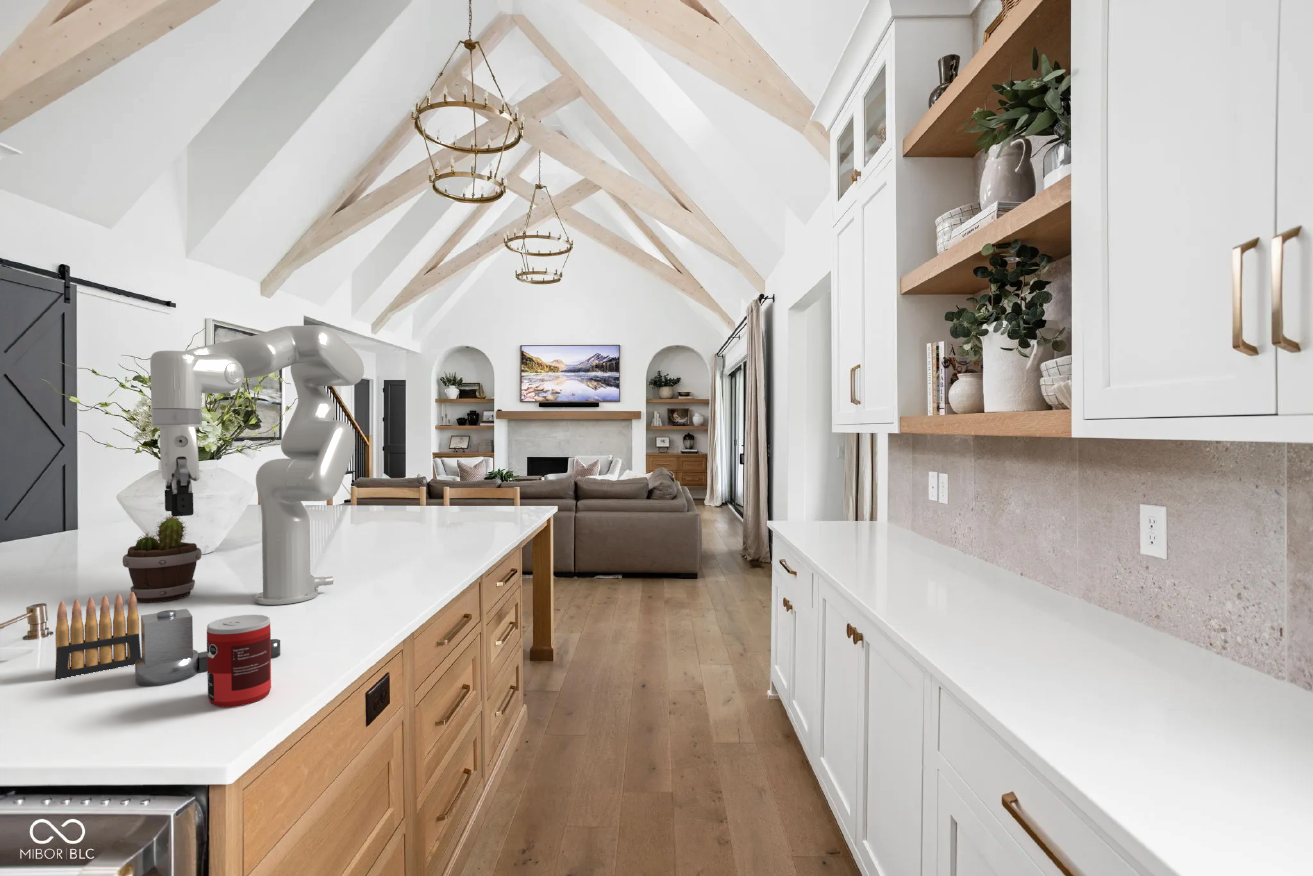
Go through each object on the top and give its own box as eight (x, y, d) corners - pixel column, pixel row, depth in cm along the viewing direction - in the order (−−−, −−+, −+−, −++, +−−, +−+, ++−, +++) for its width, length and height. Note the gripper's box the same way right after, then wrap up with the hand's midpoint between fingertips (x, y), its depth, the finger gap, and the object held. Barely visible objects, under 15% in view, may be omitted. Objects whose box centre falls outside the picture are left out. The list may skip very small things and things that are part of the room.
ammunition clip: (55, 680, 106) (53, 603, 106) (55, 677, 107) (53, 601, 107) (141, 663, 113) (140, 591, 113) (140, 661, 115) (138, 589, 114)
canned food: (225, 688, 102) (224, 615, 102) (281, 686, 103) (280, 613, 103) (195, 709, 95) (194, 630, 94) (256, 707, 95) (254, 628, 95)
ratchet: (274, 648, 121) (274, 611, 120) (285, 660, 114) (285, 621, 114) (133, 675, 108) (132, 634, 107) (137, 690, 102) (136, 646, 101)
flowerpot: (109, 600, 154) (107, 511, 154) (185, 586, 167) (184, 504, 167) (138, 609, 146) (137, 516, 146) (216, 594, 159) (214, 508, 159)
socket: (187, 648, 111) (186, 604, 111) (193, 657, 107) (192, 612, 107) (141, 656, 108) (140, 611, 107) (145, 666, 103) (144, 619, 103)
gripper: (209, 419, 121) (211, 516, 121) (194, 419, 134) (196, 507, 134) (156, 419, 116) (158, 520, 116) (147, 419, 129) (148, 510, 129)
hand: (178, 513), depth 125 cm, fingers open, 9 cm apart
